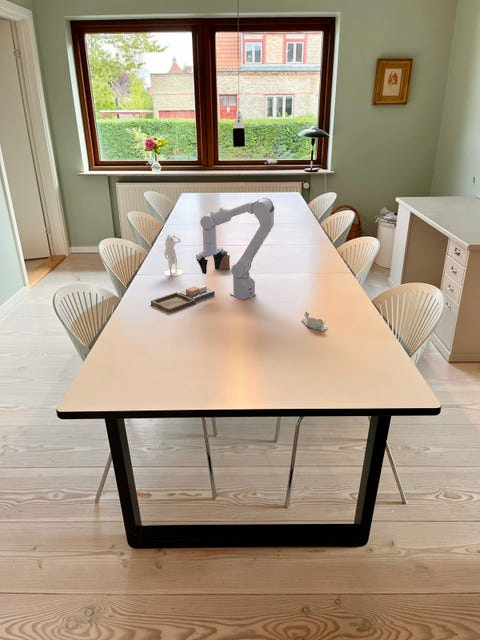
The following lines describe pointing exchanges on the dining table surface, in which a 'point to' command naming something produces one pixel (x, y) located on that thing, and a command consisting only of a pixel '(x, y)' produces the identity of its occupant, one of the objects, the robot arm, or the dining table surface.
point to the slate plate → (200, 295)
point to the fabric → (313, 322)
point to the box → (173, 302)
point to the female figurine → (171, 256)
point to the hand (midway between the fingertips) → (210, 271)
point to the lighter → (225, 262)
